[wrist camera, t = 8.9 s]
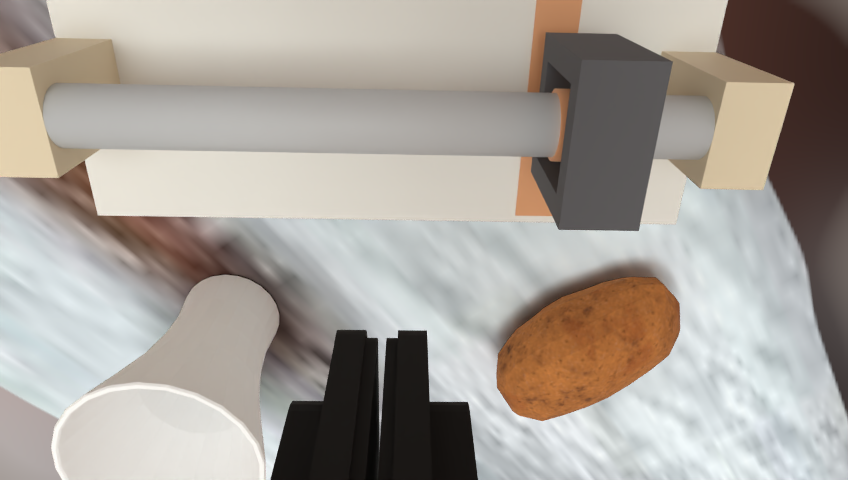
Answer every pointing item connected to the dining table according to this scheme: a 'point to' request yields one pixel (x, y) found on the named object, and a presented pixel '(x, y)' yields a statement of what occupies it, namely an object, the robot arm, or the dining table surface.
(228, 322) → the cup
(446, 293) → the dining table surface
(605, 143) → the collar
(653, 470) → the dining table surface
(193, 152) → the pipe stand
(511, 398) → the potato
